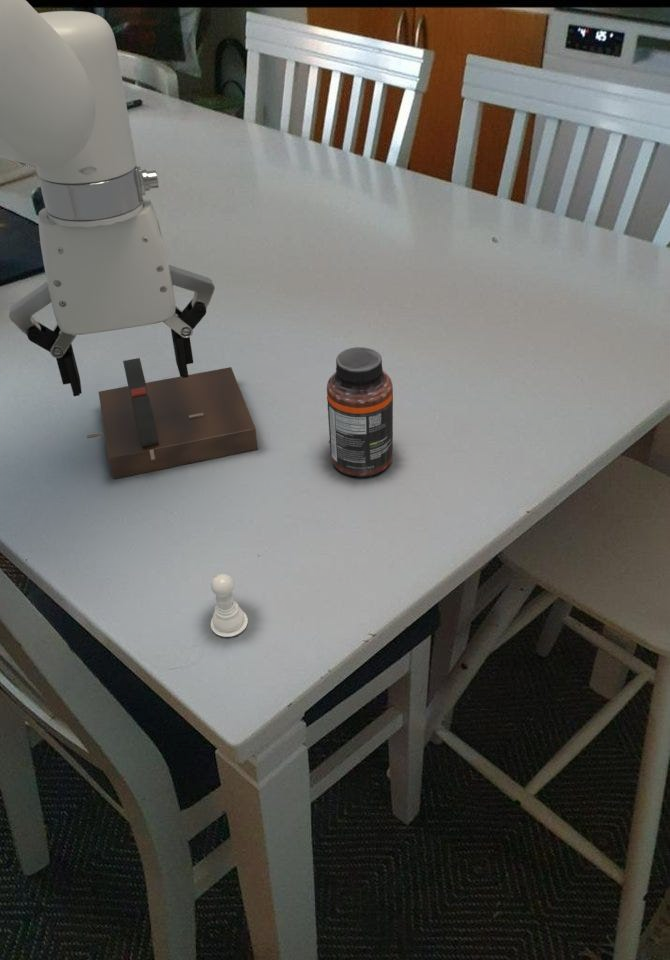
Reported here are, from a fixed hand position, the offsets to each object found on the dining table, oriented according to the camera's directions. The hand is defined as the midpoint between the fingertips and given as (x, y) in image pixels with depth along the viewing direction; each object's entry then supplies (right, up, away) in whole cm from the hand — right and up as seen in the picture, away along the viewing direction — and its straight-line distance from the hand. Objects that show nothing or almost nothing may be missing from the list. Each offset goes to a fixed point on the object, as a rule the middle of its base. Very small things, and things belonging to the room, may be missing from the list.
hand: (130, 379), depth 75 cm
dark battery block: (0, -4, +4) cm, 6 cm away
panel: (+2, -5, +7) cm, 9 cm away
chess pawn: (+11, -20, -12) cm, 26 cm away
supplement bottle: (+21, -8, +3) cm, 23 cm away
